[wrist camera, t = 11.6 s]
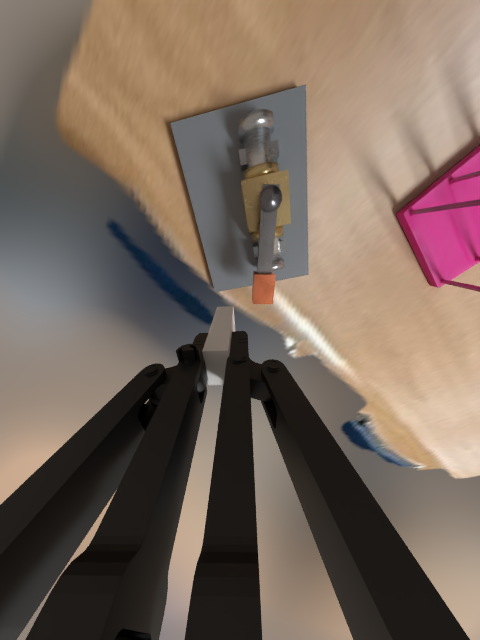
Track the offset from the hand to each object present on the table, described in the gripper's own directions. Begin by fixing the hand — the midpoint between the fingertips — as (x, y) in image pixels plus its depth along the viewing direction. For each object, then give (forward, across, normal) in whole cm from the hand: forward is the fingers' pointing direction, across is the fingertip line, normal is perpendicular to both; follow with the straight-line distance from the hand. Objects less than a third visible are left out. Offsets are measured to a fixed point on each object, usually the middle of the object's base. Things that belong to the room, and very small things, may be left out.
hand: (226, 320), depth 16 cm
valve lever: (+13, +5, +5) cm, 15 cm away
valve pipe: (+20, +5, +10) cm, 23 cm away
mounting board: (+20, +3, +10) cm, 22 cm away
